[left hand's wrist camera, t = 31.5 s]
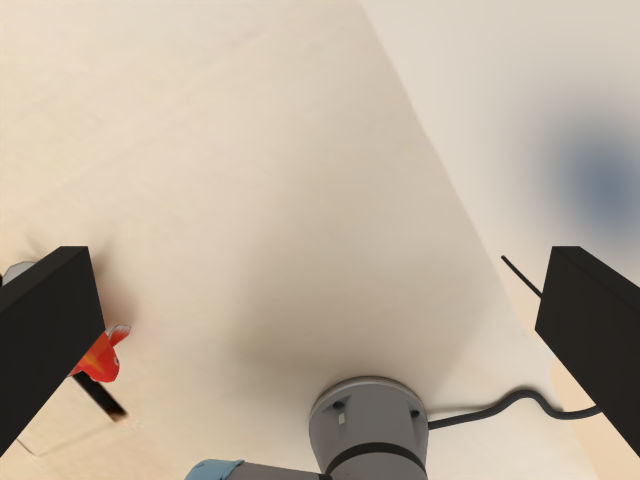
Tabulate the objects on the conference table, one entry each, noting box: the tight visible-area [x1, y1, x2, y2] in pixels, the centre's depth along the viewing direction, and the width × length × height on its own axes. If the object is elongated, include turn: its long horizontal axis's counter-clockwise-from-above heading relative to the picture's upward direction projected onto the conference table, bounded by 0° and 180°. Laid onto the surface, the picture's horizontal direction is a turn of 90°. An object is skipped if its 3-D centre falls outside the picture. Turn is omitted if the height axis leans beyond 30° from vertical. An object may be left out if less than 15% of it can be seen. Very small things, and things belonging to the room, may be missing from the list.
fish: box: [2, 262, 131, 383], centre depth 47 cm, size 11×16×10 cm
